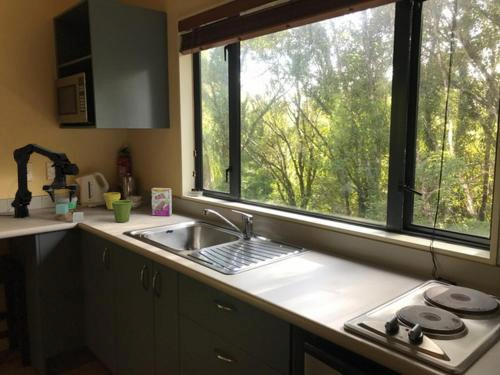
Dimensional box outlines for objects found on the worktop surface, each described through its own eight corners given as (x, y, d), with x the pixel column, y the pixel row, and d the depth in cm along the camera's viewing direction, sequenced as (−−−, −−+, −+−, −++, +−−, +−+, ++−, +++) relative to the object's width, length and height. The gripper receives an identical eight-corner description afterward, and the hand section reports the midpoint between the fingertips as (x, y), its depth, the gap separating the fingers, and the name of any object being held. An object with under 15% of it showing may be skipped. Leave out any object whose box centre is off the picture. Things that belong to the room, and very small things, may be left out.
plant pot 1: (104, 210, 270) (103, 195, 269) (104, 207, 280) (103, 192, 278) (121, 209, 273) (120, 194, 272) (120, 206, 283) (119, 192, 282)
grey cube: (73, 223, 233) (72, 214, 232) (74, 221, 237) (73, 212, 237) (82, 222, 234) (82, 213, 233) (83, 220, 239) (83, 212, 238)
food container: (63, 216, 250) (62, 199, 249) (57, 215, 254) (56, 198, 253) (82, 213, 260) (81, 197, 259) (76, 212, 264) (75, 196, 262)
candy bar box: (151, 216, 253) (150, 188, 251) (154, 214, 258) (153, 187, 256) (169, 216, 252) (169, 189, 250) (172, 214, 257) (171, 188, 255)
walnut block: (53, 221, 238) (52, 214, 238) (60, 218, 245) (60, 211, 245) (65, 221, 237) (64, 214, 237) (71, 219, 244) (71, 212, 244)
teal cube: (56, 214, 238) (55, 205, 237) (59, 212, 243) (58, 203, 242) (65, 213, 238) (64, 205, 238) (68, 212, 243) (67, 203, 243)
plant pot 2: (125, 224, 230) (124, 203, 228) (106, 222, 234) (106, 202, 232) (137, 220, 241) (137, 200, 240) (119, 218, 245) (119, 199, 243)
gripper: (36, 176, 230) (38, 205, 232) (71, 176, 230) (73, 205, 232) (46, 174, 241) (47, 201, 243) (79, 174, 241) (80, 201, 243)
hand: (62, 202), depth 240 cm, fingers open, 9 cm apart
